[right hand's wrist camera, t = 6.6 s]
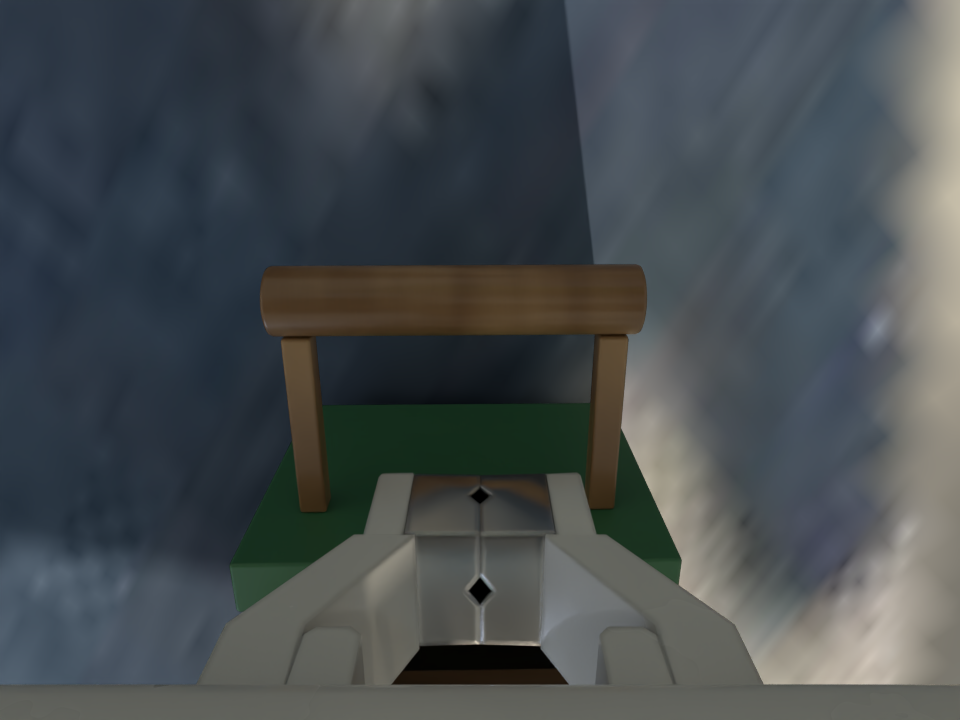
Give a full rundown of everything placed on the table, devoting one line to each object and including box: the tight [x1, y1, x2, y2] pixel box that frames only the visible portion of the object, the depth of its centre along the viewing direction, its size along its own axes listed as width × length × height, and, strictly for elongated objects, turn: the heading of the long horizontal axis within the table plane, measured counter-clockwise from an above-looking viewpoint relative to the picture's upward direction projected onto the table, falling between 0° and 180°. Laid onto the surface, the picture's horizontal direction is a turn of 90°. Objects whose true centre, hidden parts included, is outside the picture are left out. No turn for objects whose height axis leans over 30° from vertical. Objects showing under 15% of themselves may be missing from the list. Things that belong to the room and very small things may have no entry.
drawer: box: [229, 264, 682, 671], centre depth 20 cm, size 26×9×7 cm, turn 0°
